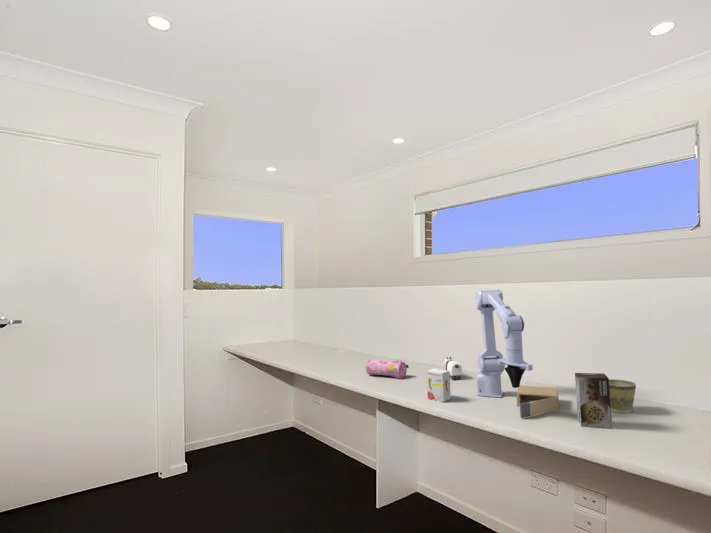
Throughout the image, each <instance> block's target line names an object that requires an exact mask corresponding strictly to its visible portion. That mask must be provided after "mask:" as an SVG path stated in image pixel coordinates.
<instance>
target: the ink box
mask: <svg viewBox="0 0 711 533" xmlns="http://www.w3.org/2000/svg"><path fill="white" fill-rule="evenodd" d="M426 386H427V387H426V388H427V399H428V398H430V399H429V400H432V399H435V400H434V401H436V400H439V401H438V402H440V401H443V402H442V403H445V401H446V402H448V401H447V400H449V401H451V400H450V399H452V398H451V375H450V372H449V371H447V370H446V369H440V368H437V367H436V368H431V369H427V370H426Z"/></svg>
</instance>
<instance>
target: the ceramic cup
mask: <svg viewBox="0 0 711 533" xmlns="http://www.w3.org/2000/svg"><path fill="white" fill-rule="evenodd" d="M636 387H637V385H636V382H634V381H631V380H626V379H616V378H615V379H614V378H612V379H611V378H610V379H609V390H610V404H611V412H614V413H617V414H631V413H632V412H633V408H634V406H633V405H634V400H635V395H636V389H637V388H636Z"/></svg>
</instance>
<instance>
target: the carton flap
mask: <svg viewBox="0 0 711 533" xmlns="http://www.w3.org/2000/svg"><path fill="white" fill-rule="evenodd" d="M559 399H560V398H559V396H558V397H552V398H547V399H542V400H537V401H532V402H527V403H522V404H520V406H519V416H520V417H519V418H520V419H523V418H528V417H531V416H539V415H541V414H546V413H551V412H552V413H553V412H555V411H556V412H557V411H560V401H559Z"/></svg>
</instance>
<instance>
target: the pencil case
mask: <svg viewBox="0 0 711 533" xmlns="http://www.w3.org/2000/svg"><path fill="white" fill-rule="evenodd" d="M364 367H365V371H366V374H368V375H369V376H387V377H391V378H396V379H402V380H403V379H404V378H405V377H406V375H407V371H408V369H409V364H406V361H402V360H399V359H398V360H392V361H390V360H379V359H376V358H372V357H370V358H369V359H368V360H367V361H366V363H365V366H364Z"/></svg>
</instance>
